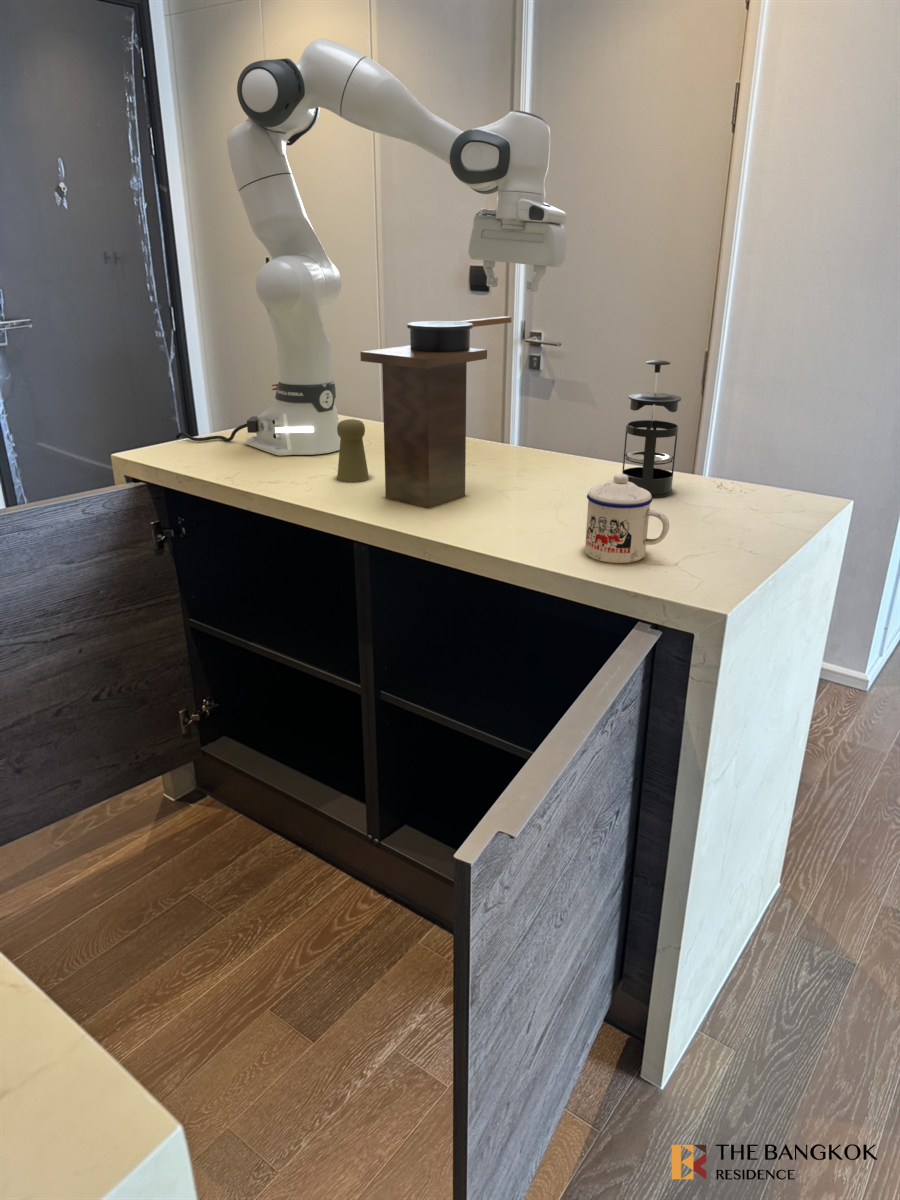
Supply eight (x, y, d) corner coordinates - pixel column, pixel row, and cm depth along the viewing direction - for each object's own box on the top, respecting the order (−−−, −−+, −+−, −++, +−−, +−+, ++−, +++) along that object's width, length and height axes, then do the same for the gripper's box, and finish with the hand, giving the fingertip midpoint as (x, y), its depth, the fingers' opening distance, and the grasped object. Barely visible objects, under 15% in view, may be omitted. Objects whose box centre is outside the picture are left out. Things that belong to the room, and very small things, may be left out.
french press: (673, 500, 151) (687, 365, 142) (618, 497, 152) (629, 363, 144) (671, 483, 161) (685, 356, 152) (620, 480, 163) (631, 355, 154)
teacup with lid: (573, 557, 124) (578, 477, 119) (597, 539, 131) (602, 464, 126) (654, 572, 118) (662, 490, 113) (674, 553, 125) (683, 475, 121)
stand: (365, 499, 151) (360, 351, 141) (424, 481, 162) (423, 343, 152) (426, 514, 142) (425, 358, 133) (484, 494, 154) (487, 349, 144)
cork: (367, 482, 161) (365, 423, 157) (335, 482, 161) (332, 423, 157) (370, 474, 167) (368, 417, 163) (339, 474, 167) (336, 416, 163)
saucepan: (393, 348, 145) (393, 324, 143) (483, 337, 163) (483, 314, 161) (444, 354, 138) (444, 328, 137) (531, 341, 156) (532, 318, 155)
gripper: (465, 206, 165) (459, 283, 170) (556, 211, 154) (547, 293, 159) (484, 209, 170) (477, 284, 175) (574, 214, 159) (564, 294, 164)
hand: (511, 288), depth 167 cm, fingers open, 8 cm apart
